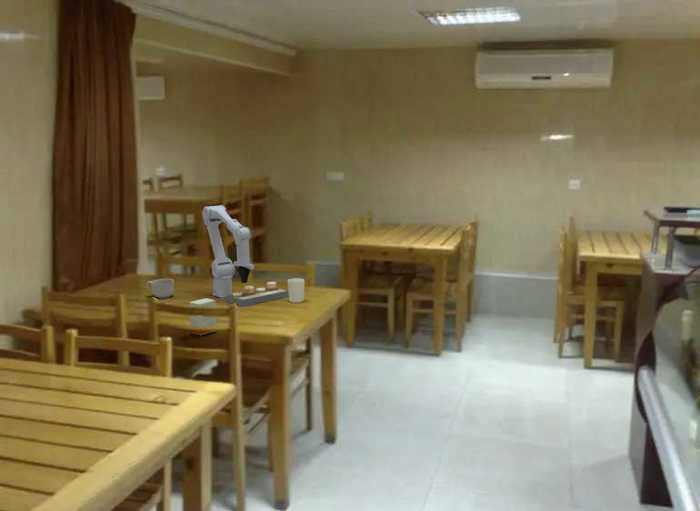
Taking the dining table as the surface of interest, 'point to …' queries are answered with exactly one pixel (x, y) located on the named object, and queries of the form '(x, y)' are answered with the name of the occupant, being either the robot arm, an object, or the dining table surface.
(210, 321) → the small box
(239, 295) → the button
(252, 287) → the button
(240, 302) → the board
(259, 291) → the button
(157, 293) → the teacup
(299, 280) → the white cup
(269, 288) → the button
